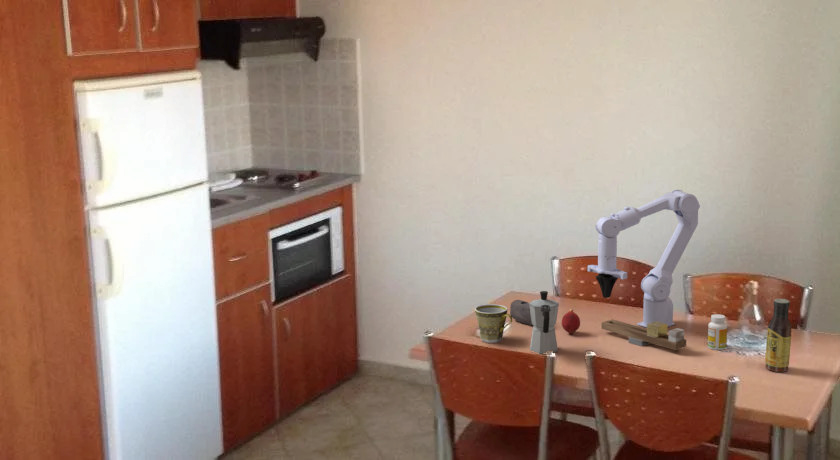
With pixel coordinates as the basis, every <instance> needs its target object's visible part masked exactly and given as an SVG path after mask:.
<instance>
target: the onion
mask: <svg viewBox="0 0 840 460" xmlns="http://www.w3.org/2000/svg"><path fill="white" fill-rule="evenodd" d="M568 310H569V311H568V312H566V313H565V314H564V315H563V316H562V318H561V327H562V329H563V330H564V331H565V332H566V333H568V334H569V335H573V334H574V333H575V332H577V331H578V330H579V328H580V327H581V319H580V317H579V315H578V314H577V313H575V312H574V310H573V309H572V308H571V309H568Z"/></svg>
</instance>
